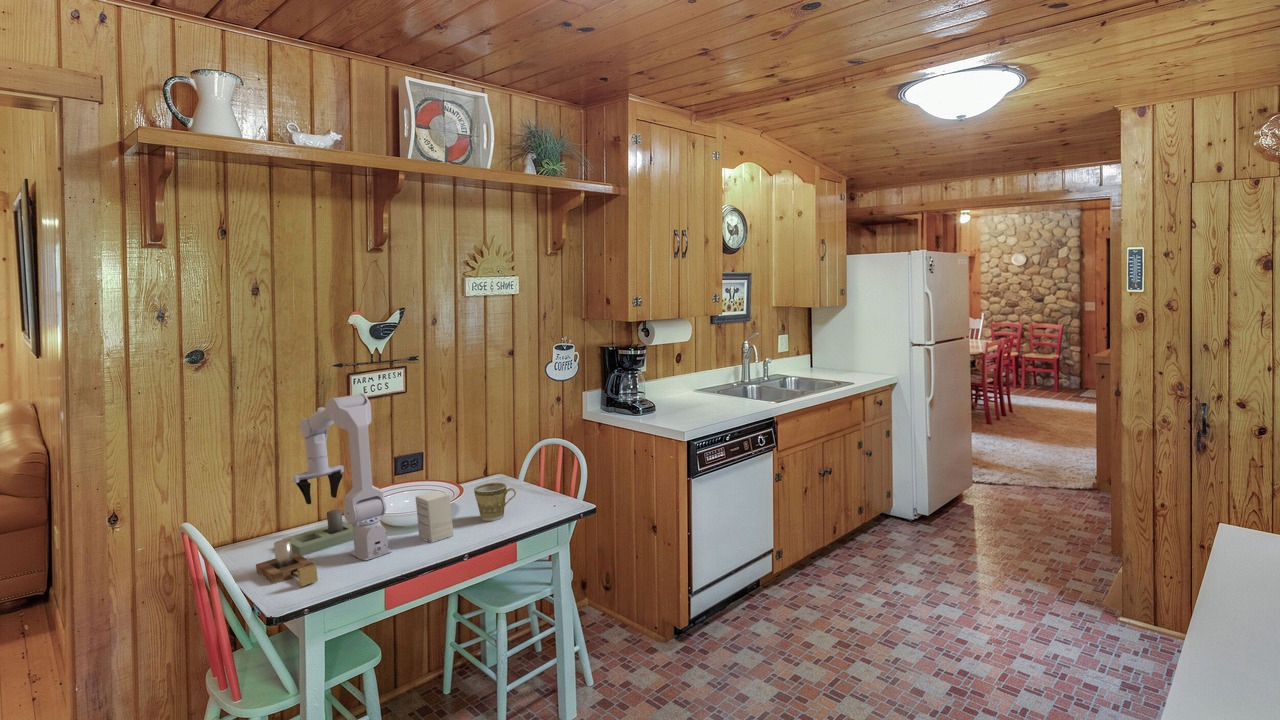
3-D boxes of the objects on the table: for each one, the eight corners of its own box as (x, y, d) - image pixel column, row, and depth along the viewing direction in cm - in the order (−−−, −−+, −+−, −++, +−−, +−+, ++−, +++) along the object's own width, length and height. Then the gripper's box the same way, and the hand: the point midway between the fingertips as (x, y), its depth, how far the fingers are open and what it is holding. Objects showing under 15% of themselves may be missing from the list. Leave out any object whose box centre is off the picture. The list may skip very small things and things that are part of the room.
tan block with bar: (317, 580, 176) (316, 565, 176) (301, 586, 173) (299, 570, 173) (303, 572, 182) (302, 558, 182) (287, 578, 179) (285, 563, 179)
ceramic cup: (471, 523, 216) (469, 491, 215) (482, 512, 226) (480, 482, 225) (512, 523, 214) (510, 491, 213) (521, 512, 224) (519, 481, 223)
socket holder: (314, 570, 185) (313, 562, 184) (274, 583, 177) (273, 575, 177) (295, 560, 193) (294, 552, 192) (256, 572, 185) (255, 564, 185)
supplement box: (441, 530, 211) (437, 489, 209) (454, 536, 205) (450, 494, 204) (418, 538, 205) (414, 495, 204) (430, 543, 200) (427, 500, 199)
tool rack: (362, 537, 209) (359, 510, 208) (300, 556, 195) (297, 528, 195) (343, 529, 217) (341, 503, 216) (282, 547, 203) (280, 520, 203)
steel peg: (296, 570, 185) (293, 541, 184) (280, 575, 182) (277, 546, 181) (290, 567, 188) (287, 538, 187) (274, 572, 185) (271, 542, 184)
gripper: (334, 449, 220) (339, 492, 221) (286, 459, 209) (291, 504, 211) (345, 452, 215) (349, 495, 217) (296, 463, 204) (301, 508, 206)
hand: (321, 500), depth 213 cm, fingers open, 7 cm apart
